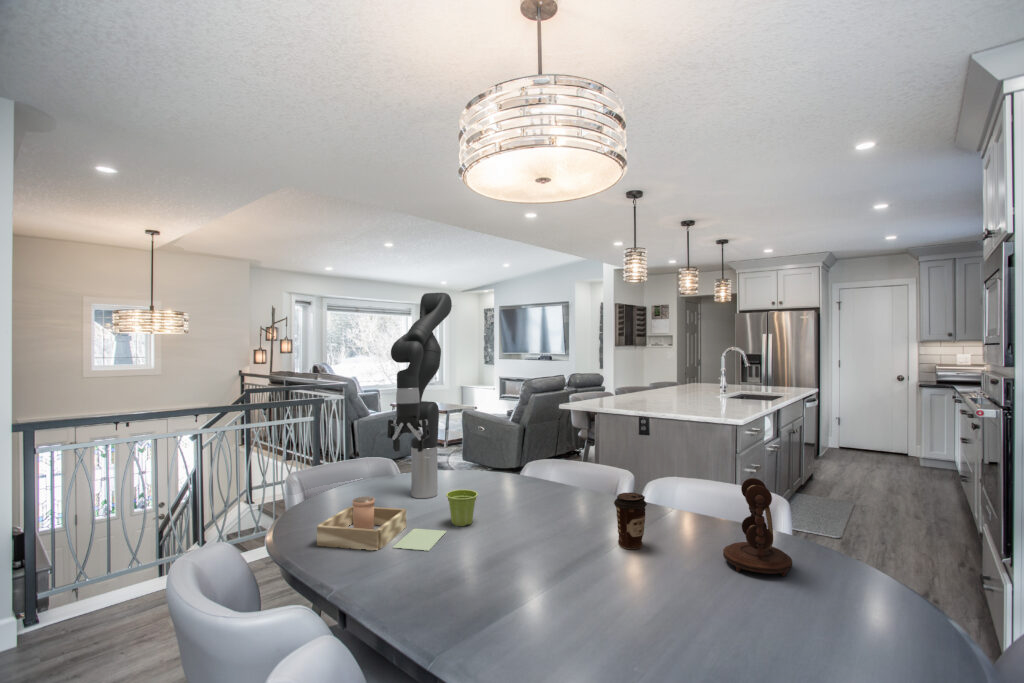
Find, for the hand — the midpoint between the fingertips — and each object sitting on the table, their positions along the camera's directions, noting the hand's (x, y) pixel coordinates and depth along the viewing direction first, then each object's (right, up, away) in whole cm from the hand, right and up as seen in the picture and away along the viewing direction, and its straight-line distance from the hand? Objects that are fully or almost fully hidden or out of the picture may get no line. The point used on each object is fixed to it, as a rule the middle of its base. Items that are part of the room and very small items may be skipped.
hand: (408, 451), depth 166 cm
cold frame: (-8, -18, -24) cm, 31 cm away
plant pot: (+19, -18, -15) cm, 30 cm away
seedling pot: (-8, -18, -24) cm, 31 cm away
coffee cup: (+65, -18, -33) cm, 75 cm away
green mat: (+9, -18, -28) cm, 34 cm away
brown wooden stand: (+92, -18, -46) cm, 104 cm away
